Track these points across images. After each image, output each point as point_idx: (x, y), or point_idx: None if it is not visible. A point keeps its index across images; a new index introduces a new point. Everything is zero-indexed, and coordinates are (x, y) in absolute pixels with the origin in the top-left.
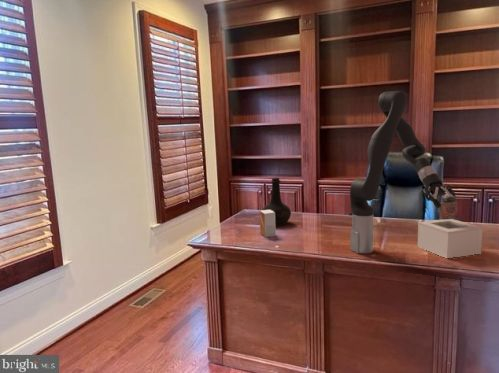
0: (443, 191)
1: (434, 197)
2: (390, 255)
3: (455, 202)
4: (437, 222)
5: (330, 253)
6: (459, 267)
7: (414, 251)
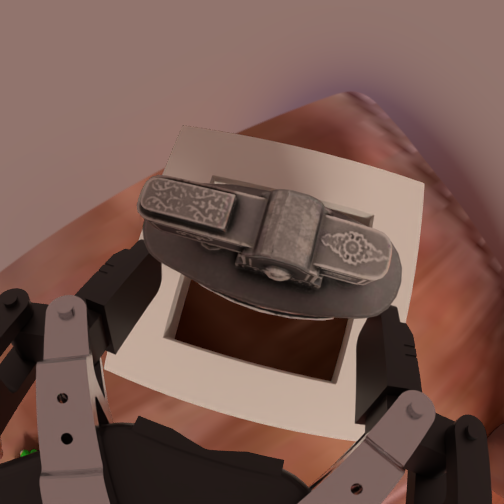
0: (109, 453)
1: (423, 414)
2: (486, 375)
3: (223, 186)
4: (272, 369)
5: None
6: (402, 163)
7: None
